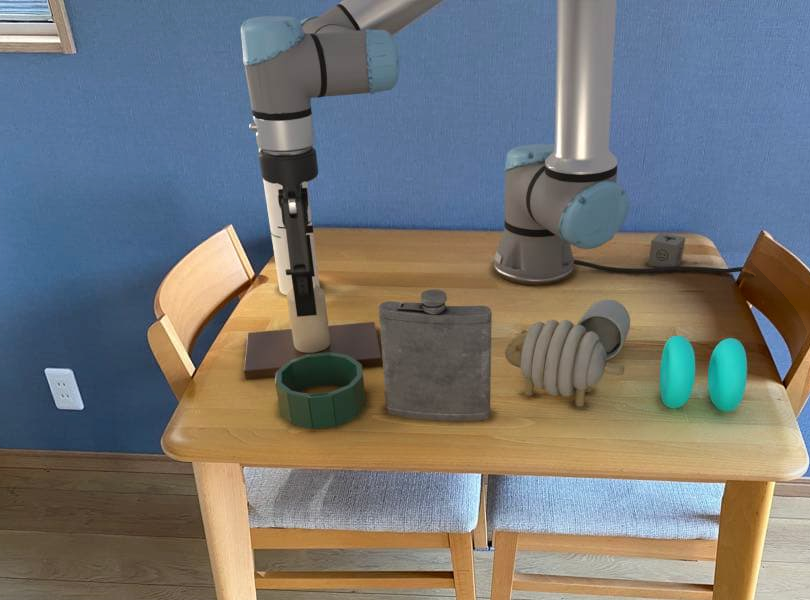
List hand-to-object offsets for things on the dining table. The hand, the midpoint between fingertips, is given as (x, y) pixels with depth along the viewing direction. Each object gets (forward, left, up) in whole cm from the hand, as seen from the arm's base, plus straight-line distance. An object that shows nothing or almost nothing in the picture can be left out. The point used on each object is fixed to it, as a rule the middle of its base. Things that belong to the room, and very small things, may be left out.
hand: (306, 294), depth 112 cm
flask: (-16, +20, -10) cm, 28 cm away
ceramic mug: (-43, +7, -10) cm, 45 cm away
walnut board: (0, 0, -10) cm, 10 cm away
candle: (0, 0, -9) cm, 9 cm away
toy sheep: (-34, +19, -10) cm, 40 cm away
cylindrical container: (+2, -25, -10) cm, 27 cm away
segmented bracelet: (-1, +15, -10) cm, 18 cm away
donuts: (-52, +25, -10) cm, 59 cm away
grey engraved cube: (-68, -23, -10) cm, 72 cm away
